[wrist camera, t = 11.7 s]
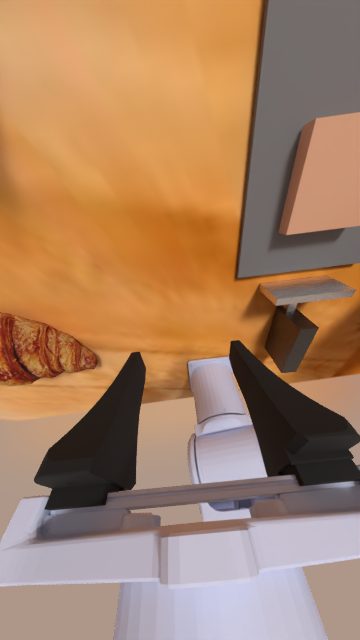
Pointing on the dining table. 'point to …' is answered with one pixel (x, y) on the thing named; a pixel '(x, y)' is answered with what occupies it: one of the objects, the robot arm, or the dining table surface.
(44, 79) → the dining table surface
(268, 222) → the mat
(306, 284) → the turner
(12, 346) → the croissant
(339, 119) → the tile
